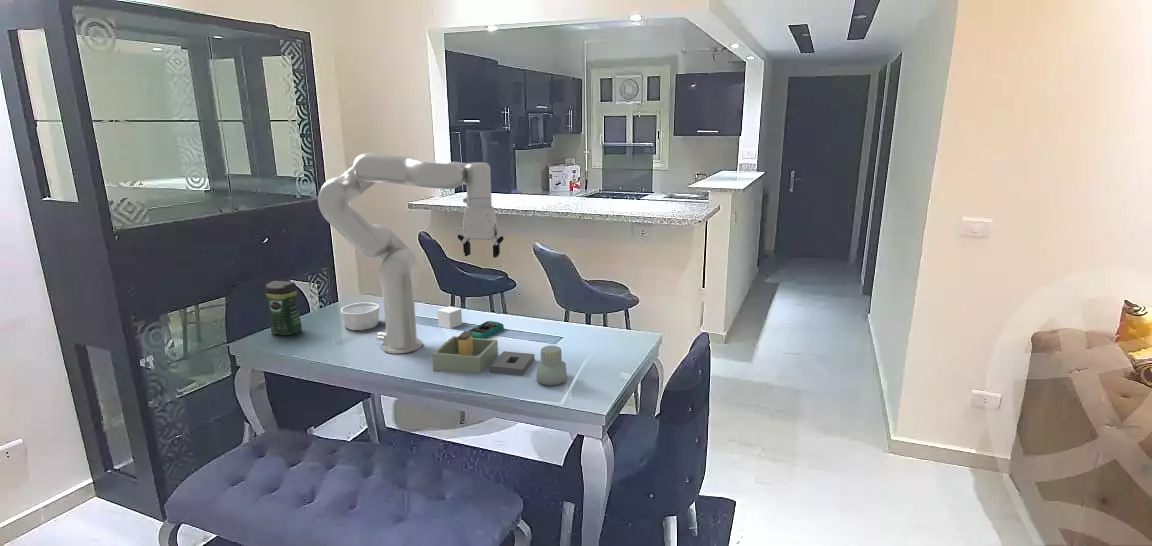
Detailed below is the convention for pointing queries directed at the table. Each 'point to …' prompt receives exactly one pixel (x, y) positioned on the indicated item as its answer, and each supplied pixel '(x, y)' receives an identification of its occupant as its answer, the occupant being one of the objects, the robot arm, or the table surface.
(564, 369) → the air freshener
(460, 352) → the block
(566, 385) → the table surface
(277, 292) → the coffee jar
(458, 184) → the robot arm
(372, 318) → the ramekin
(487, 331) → the digital multimeter
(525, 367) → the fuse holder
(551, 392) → the table surface
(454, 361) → the parts tray
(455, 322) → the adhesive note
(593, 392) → the table surface
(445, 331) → the table surface
